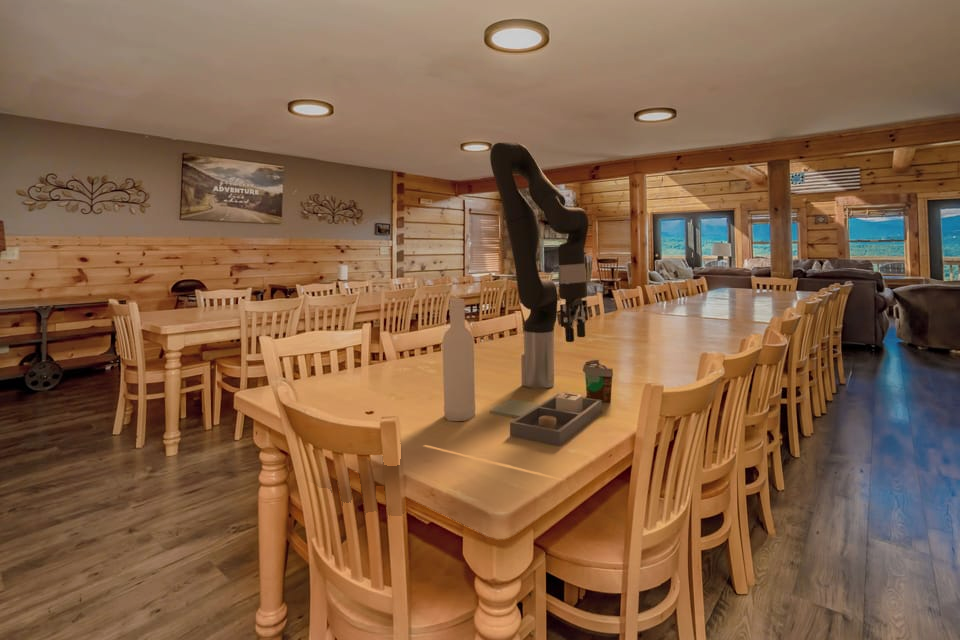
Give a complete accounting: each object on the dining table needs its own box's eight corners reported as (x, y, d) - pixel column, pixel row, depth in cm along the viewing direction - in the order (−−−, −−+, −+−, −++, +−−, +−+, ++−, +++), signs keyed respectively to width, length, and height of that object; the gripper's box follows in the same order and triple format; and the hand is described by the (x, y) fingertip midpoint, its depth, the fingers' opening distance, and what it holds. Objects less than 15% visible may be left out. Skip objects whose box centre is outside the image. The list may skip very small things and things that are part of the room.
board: (489, 414, 126) (489, 410, 126) (510, 403, 135) (510, 399, 135) (527, 421, 120) (527, 417, 120) (547, 409, 129) (547, 405, 129)
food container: (577, 393, 143) (577, 360, 142) (597, 392, 143) (598, 359, 142) (590, 406, 131) (590, 369, 129) (612, 405, 131) (613, 368, 130)
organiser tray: (510, 437, 110) (509, 422, 109) (558, 406, 131) (558, 393, 131) (559, 447, 103) (559, 431, 103) (601, 413, 125) (601, 400, 124)
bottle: (481, 418, 123) (479, 298, 119) (454, 424, 119) (450, 301, 115) (465, 409, 130) (462, 297, 126) (438, 415, 126) (435, 298, 122)
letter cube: (555, 416, 122) (555, 396, 121) (563, 411, 126) (563, 391, 125) (574, 420, 119) (574, 399, 118) (582, 414, 123) (582, 394, 122)
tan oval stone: (535, 432, 111) (535, 419, 111) (543, 427, 115) (543, 414, 114) (551, 435, 109) (551, 422, 109) (559, 430, 112) (559, 417, 112)
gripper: (569, 280, 143) (572, 335, 144) (549, 283, 131) (553, 343, 132) (594, 279, 139) (597, 335, 140) (576, 281, 127) (579, 343, 128)
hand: (575, 339), depth 136 cm, fingers open, 8 cm apart
